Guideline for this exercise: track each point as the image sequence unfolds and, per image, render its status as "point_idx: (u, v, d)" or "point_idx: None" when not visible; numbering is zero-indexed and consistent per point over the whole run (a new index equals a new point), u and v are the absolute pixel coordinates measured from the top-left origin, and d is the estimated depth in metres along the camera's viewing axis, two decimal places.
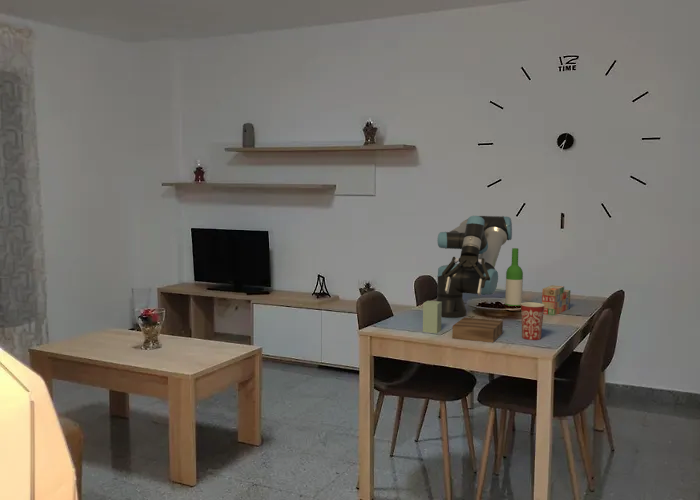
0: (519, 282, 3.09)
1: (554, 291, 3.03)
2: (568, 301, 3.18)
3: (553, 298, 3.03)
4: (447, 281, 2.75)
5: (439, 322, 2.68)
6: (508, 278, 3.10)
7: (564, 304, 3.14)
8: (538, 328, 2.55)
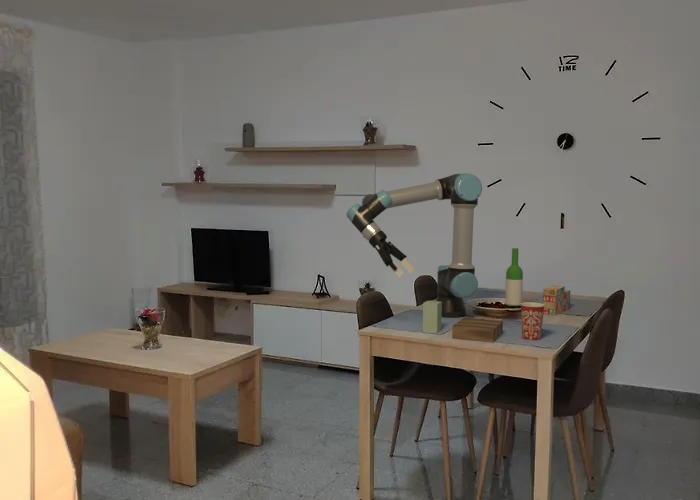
0: (519, 282, 3.09)
1: (555, 291, 3.03)
2: (568, 301, 3.18)
3: (554, 298, 3.03)
4: (404, 266, 2.79)
5: (439, 322, 2.68)
6: (508, 278, 3.10)
7: (564, 304, 3.14)
8: (538, 328, 2.55)
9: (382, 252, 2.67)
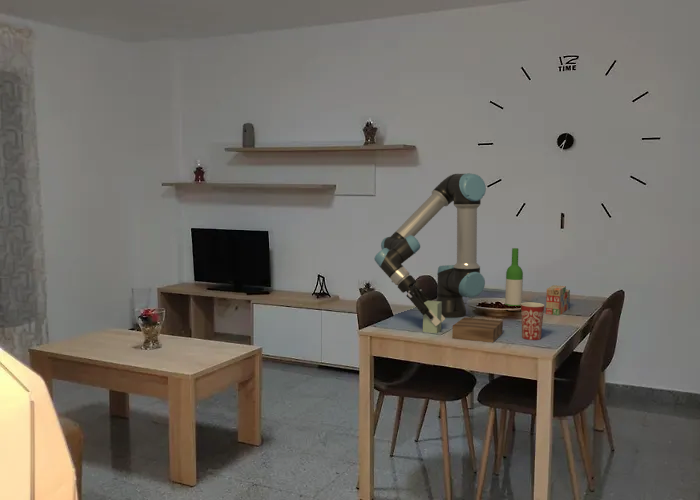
0: (519, 282, 3.09)
1: (559, 291, 3.03)
2: (568, 301, 3.19)
3: (558, 298, 3.03)
4: None
5: None
6: (508, 278, 3.10)
7: (565, 304, 3.15)
8: (538, 328, 2.55)
9: (416, 301, 2.65)
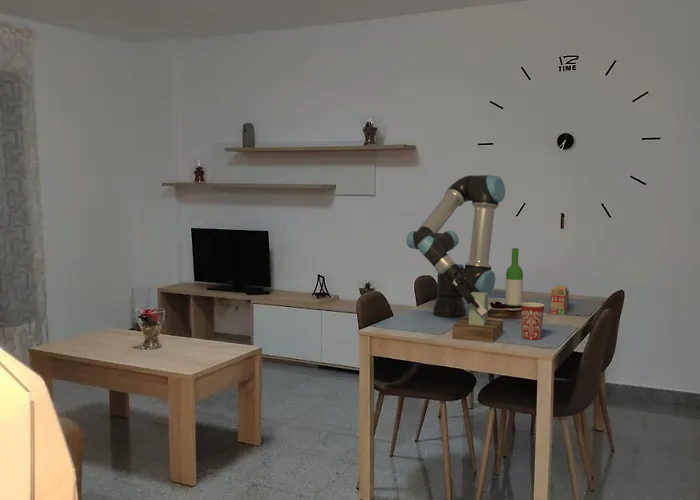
0: (519, 282, 3.09)
1: (564, 291, 3.03)
2: (568, 300, 3.21)
3: (563, 298, 3.04)
4: None
5: (485, 314, 2.60)
6: (508, 278, 3.10)
7: None
8: (538, 328, 2.55)
9: (462, 289, 2.56)
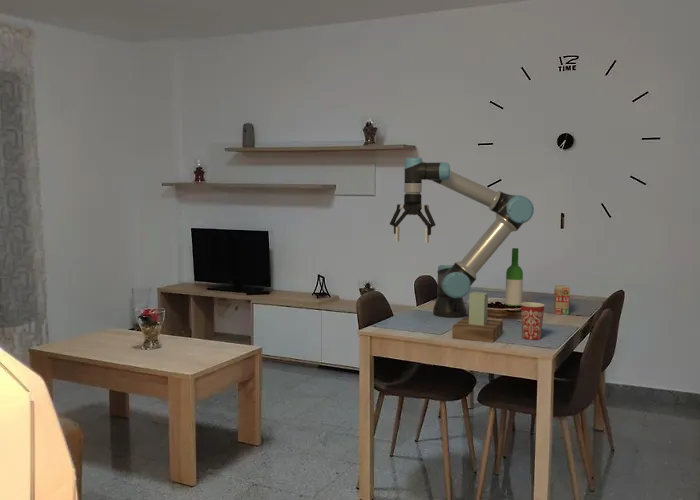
0: (519, 282, 3.09)
1: (568, 291, 3.04)
2: None
3: (567, 298, 3.04)
4: None
5: (485, 314, 2.60)
6: (508, 278, 3.10)
7: None
8: (538, 328, 2.55)
9: None
